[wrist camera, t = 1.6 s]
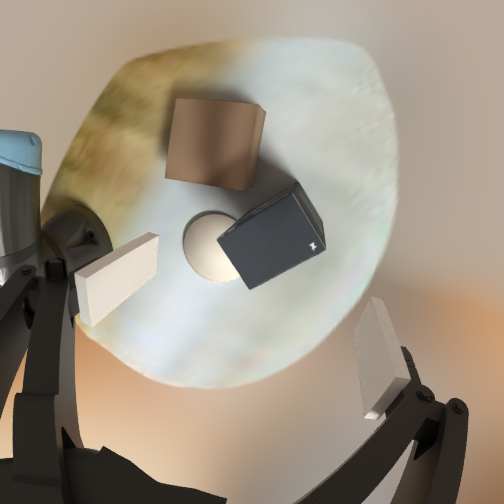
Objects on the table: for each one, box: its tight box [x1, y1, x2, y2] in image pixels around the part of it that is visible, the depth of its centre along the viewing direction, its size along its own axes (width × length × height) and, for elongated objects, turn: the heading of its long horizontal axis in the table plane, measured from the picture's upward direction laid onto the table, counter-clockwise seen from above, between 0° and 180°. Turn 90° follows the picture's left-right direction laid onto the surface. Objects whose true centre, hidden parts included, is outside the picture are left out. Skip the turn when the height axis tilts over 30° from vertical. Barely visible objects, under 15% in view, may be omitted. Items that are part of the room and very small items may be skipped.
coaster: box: [184, 214, 240, 283], centre depth 35 cm, size 9×9×1 cm
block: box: [165, 99, 266, 192], centre depth 28 cm, size 9×9×5 cm
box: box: [216, 182, 326, 290], centre depth 27 cm, size 8×6×11 cm
